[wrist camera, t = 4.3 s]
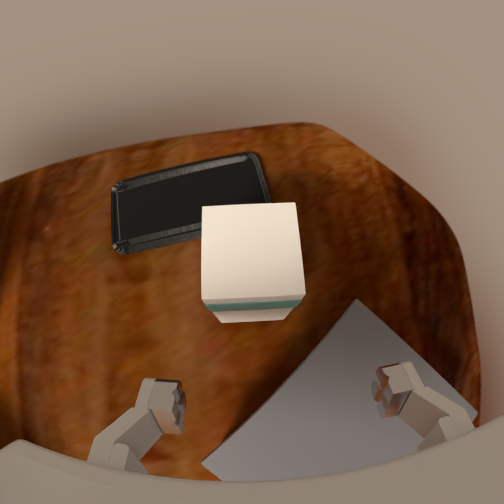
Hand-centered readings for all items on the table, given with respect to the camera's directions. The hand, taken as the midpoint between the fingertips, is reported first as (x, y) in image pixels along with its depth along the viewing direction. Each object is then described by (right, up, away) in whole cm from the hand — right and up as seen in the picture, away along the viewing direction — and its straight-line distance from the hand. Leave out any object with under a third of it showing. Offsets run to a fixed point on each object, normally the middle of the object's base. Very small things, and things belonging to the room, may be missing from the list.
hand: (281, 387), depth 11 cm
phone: (-7, +10, +17) cm, 21 cm away
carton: (-1, +2, +13) cm, 14 cm away
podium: (+6, -9, +9) cm, 15 cm away
